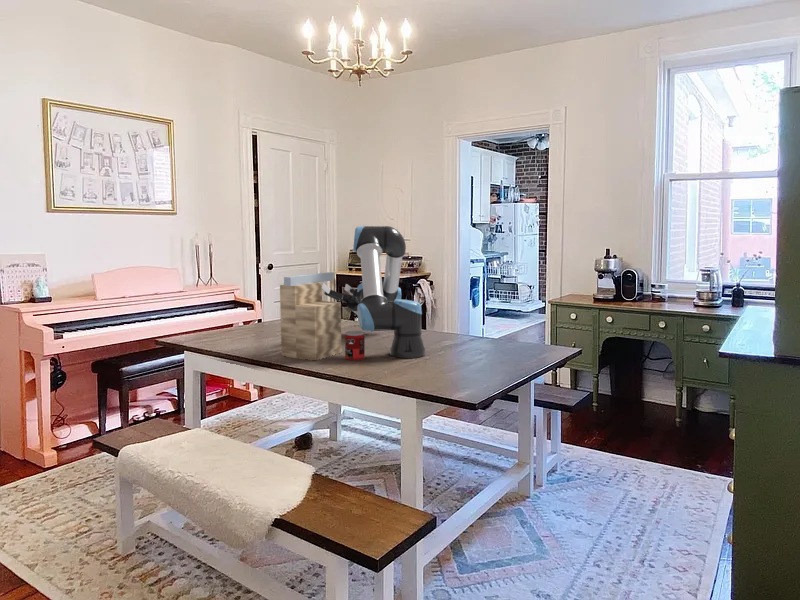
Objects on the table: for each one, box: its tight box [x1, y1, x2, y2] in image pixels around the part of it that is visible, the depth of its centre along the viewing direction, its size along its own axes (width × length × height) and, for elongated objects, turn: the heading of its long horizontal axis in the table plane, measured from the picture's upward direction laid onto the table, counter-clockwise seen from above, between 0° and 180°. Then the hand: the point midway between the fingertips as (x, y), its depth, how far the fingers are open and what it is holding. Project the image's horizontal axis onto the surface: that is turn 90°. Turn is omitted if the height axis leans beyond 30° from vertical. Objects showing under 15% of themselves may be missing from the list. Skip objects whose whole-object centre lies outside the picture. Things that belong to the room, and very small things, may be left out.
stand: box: [279, 282, 343, 361], centre depth 253 cm, size 18×18×30 cm
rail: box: [283, 272, 335, 286], centre depth 259 cm, size 30×4×4 cm, turn 150°
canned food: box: [344, 330, 366, 361], centre depth 246 cm, size 8×8×11 cm
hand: (333, 285), depth 274 cm, fingers open, 13 cm apart
